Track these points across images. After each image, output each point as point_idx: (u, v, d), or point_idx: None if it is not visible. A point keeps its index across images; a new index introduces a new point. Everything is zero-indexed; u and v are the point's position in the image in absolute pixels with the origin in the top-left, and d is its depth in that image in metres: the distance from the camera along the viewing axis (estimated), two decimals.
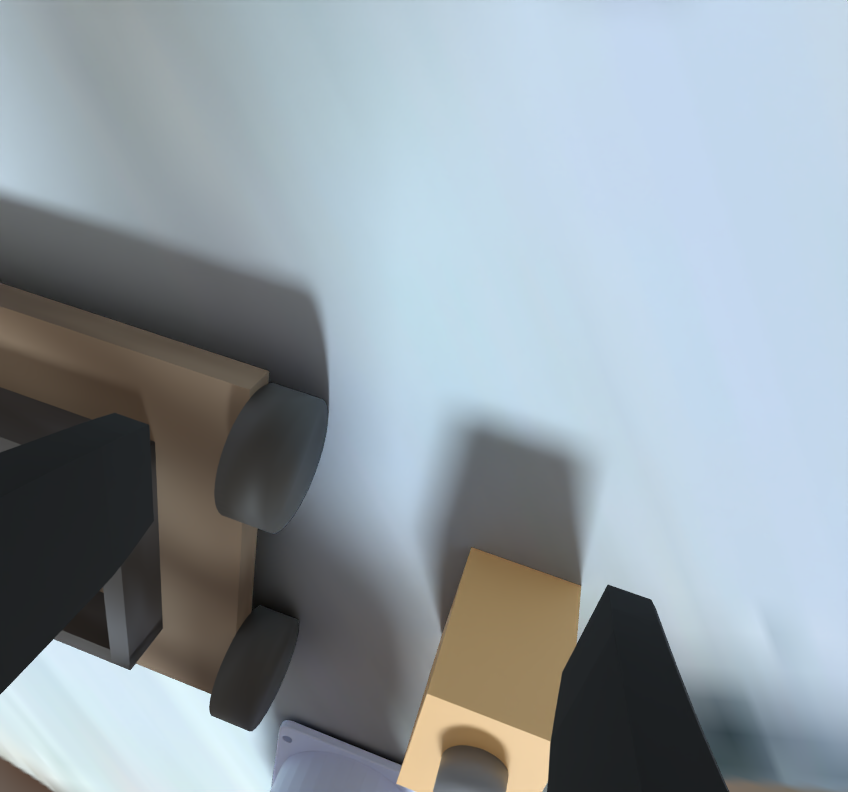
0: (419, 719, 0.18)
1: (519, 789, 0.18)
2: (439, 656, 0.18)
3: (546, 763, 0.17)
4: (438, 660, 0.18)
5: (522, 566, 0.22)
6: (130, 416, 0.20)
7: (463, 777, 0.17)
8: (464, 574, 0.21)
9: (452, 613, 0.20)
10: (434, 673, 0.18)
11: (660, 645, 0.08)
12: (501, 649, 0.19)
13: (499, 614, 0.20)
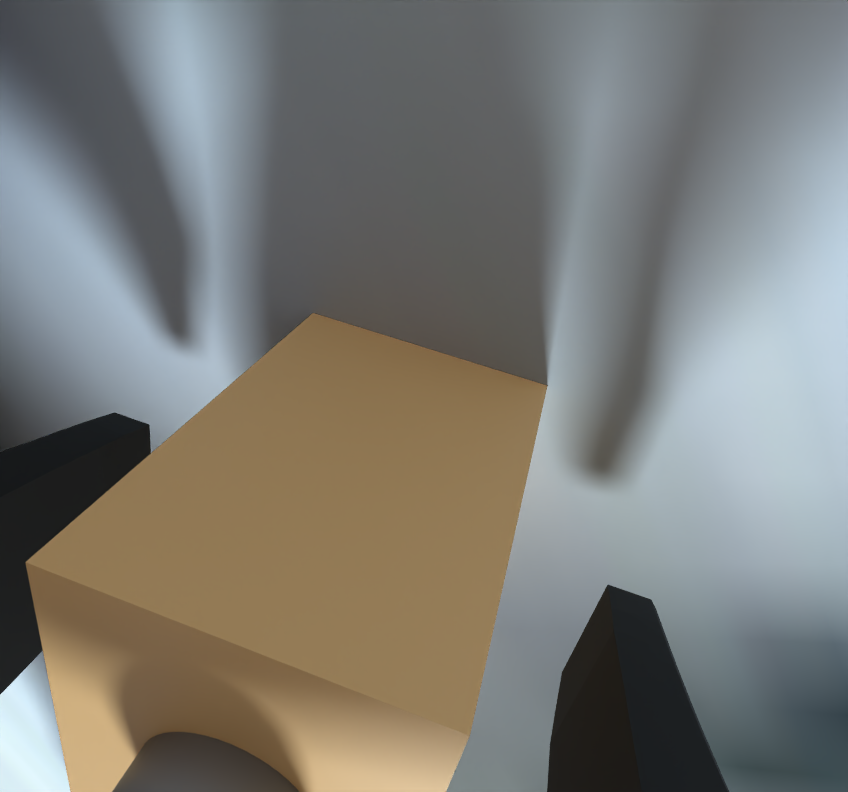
0: (46, 655, 0.06)
1: None
2: (126, 478, 0.06)
3: (411, 787, 0.05)
4: (118, 487, 0.06)
5: (420, 348, 0.10)
6: None
7: None
8: (278, 346, 0.09)
9: (214, 402, 0.08)
10: (86, 515, 0.06)
11: (660, 644, 0.08)
12: (320, 476, 0.07)
13: (338, 412, 0.08)
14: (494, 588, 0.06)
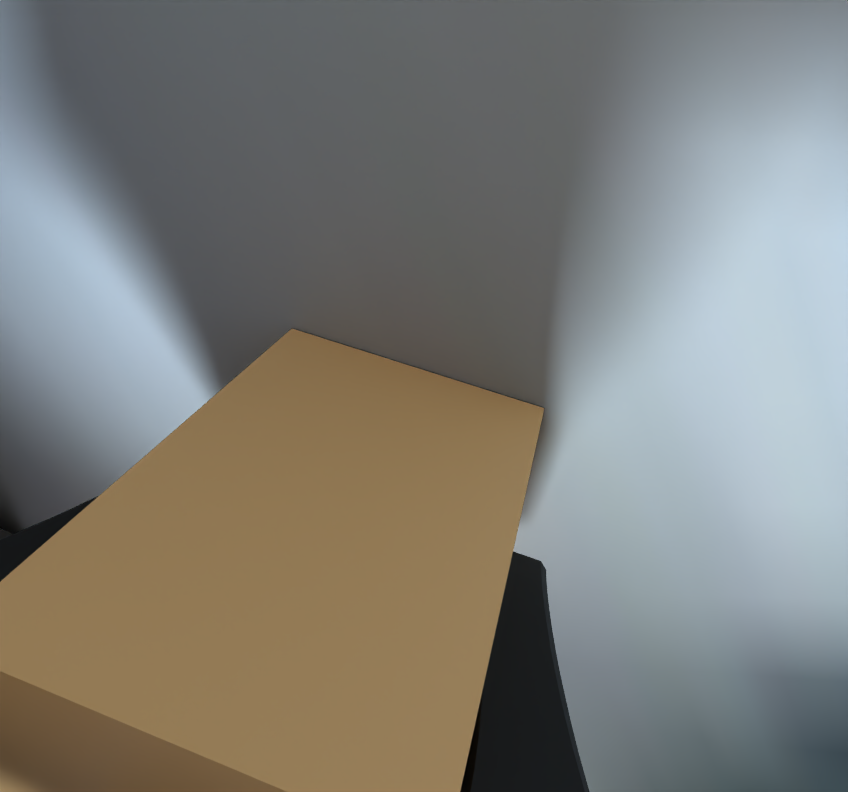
0: None
1: None
2: (63, 531, 0.06)
3: None
4: (52, 542, 0.06)
5: (406, 368, 0.09)
6: None
7: None
8: (249, 368, 0.09)
9: (173, 435, 0.07)
10: (11, 578, 0.05)
11: (536, 601, 0.08)
12: (287, 522, 0.06)
13: (311, 447, 0.07)
14: (480, 659, 0.05)
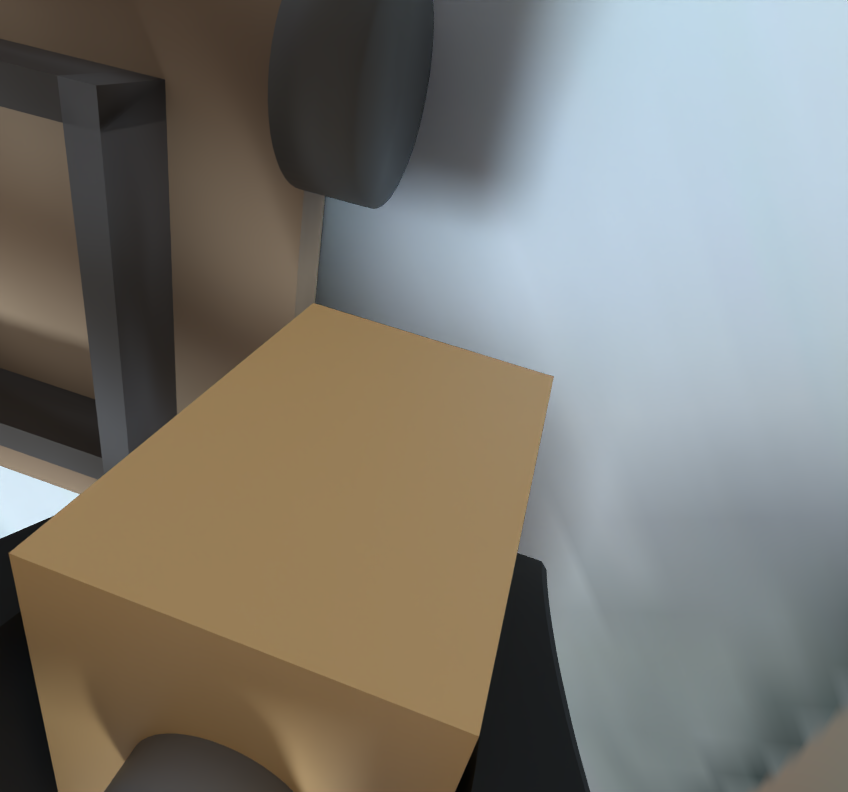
0: (32, 652, 0.06)
1: None
2: (117, 467, 0.06)
3: (416, 791, 0.05)
4: (108, 476, 0.06)
5: (422, 339, 0.10)
6: (125, 32, 0.13)
7: None
8: (276, 336, 0.09)
9: (210, 391, 0.08)
10: (74, 504, 0.06)
11: (537, 601, 0.08)
12: (321, 466, 0.07)
13: (338, 403, 0.08)
14: (503, 582, 0.06)
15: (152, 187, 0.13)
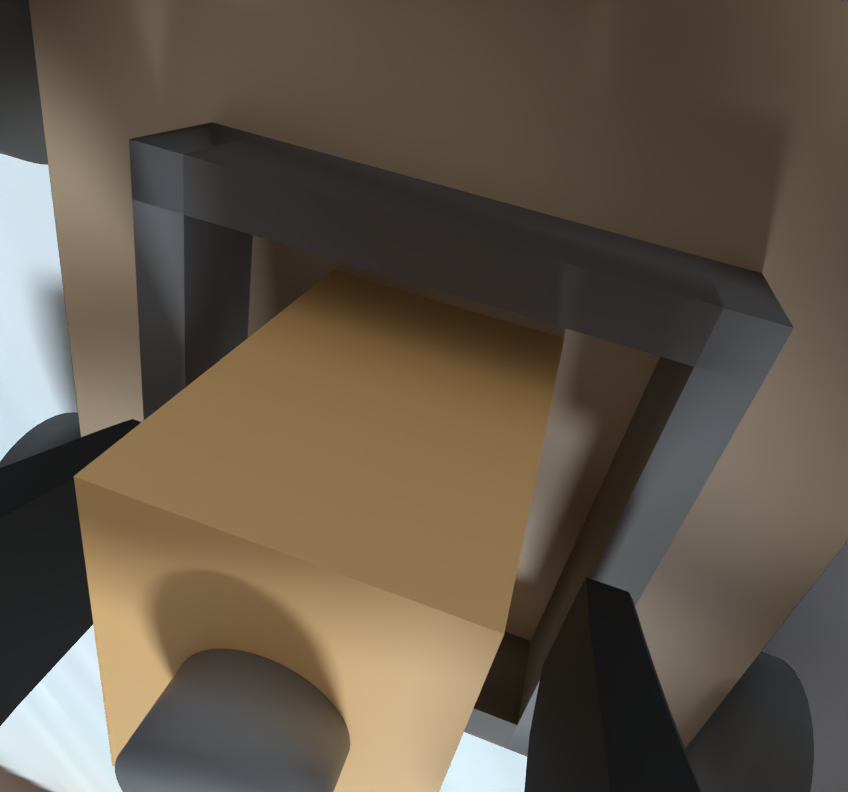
0: (89, 574, 0.06)
1: (383, 776, 0.07)
2: (163, 408, 0.07)
3: (445, 693, 0.06)
4: (156, 415, 0.07)
5: (438, 303, 0.10)
6: (722, 209, 0.09)
7: (182, 735, 0.06)
8: (301, 298, 0.10)
9: (243, 345, 0.08)
10: (128, 438, 0.06)
11: (635, 636, 0.08)
12: (349, 411, 0.07)
13: (362, 357, 0.08)
14: (521, 511, 0.06)
15: None
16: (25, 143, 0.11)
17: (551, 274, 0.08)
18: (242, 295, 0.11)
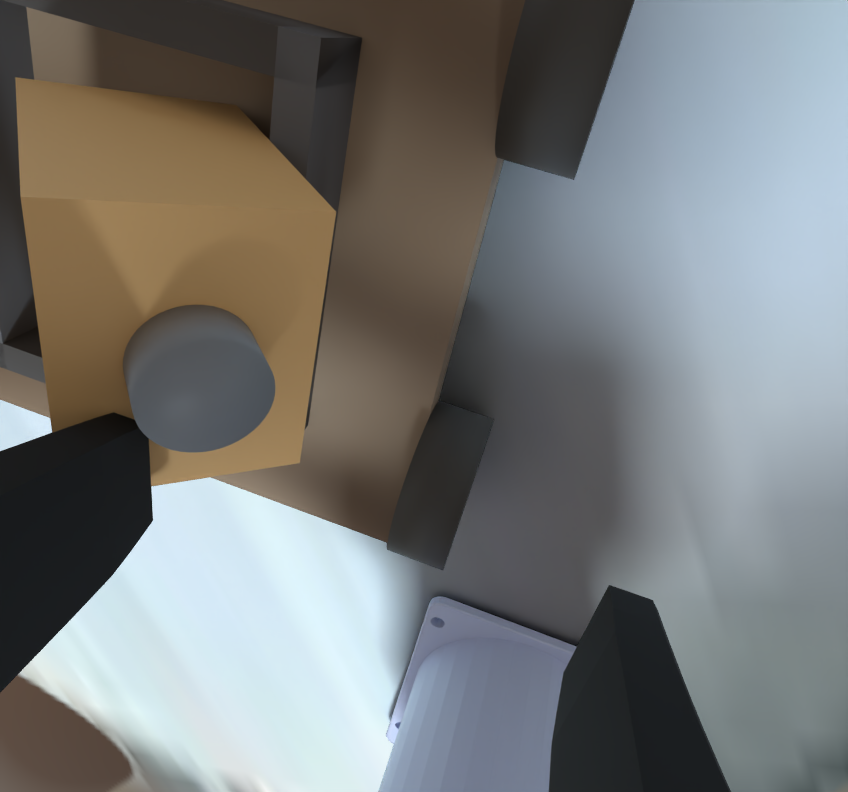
0: (37, 293, 0.08)
1: (282, 365, 0.11)
2: (22, 162, 0.08)
3: (310, 273, 0.10)
4: (23, 166, 0.08)
5: (129, 93, 0.12)
6: None
7: (180, 345, 0.09)
8: (19, 96, 0.11)
9: (20, 126, 0.09)
10: (23, 178, 0.08)
11: (662, 645, 0.08)
12: (151, 150, 0.10)
13: (119, 125, 0.11)
14: (298, 175, 0.10)
15: (336, 150, 0.13)
16: None
17: (174, 10, 0.11)
18: None
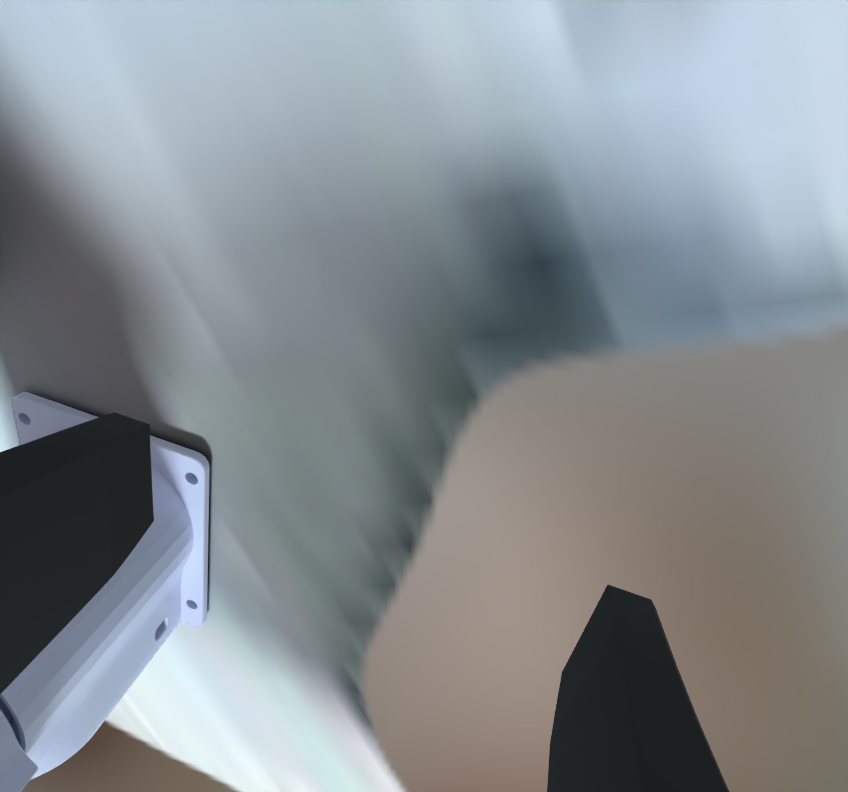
0: None
1: None
2: None
3: None
4: None
5: None
6: None
7: None
8: None
9: None
10: None
11: (661, 645, 0.08)
12: None
13: None
14: None
15: None
16: None
17: None
18: None
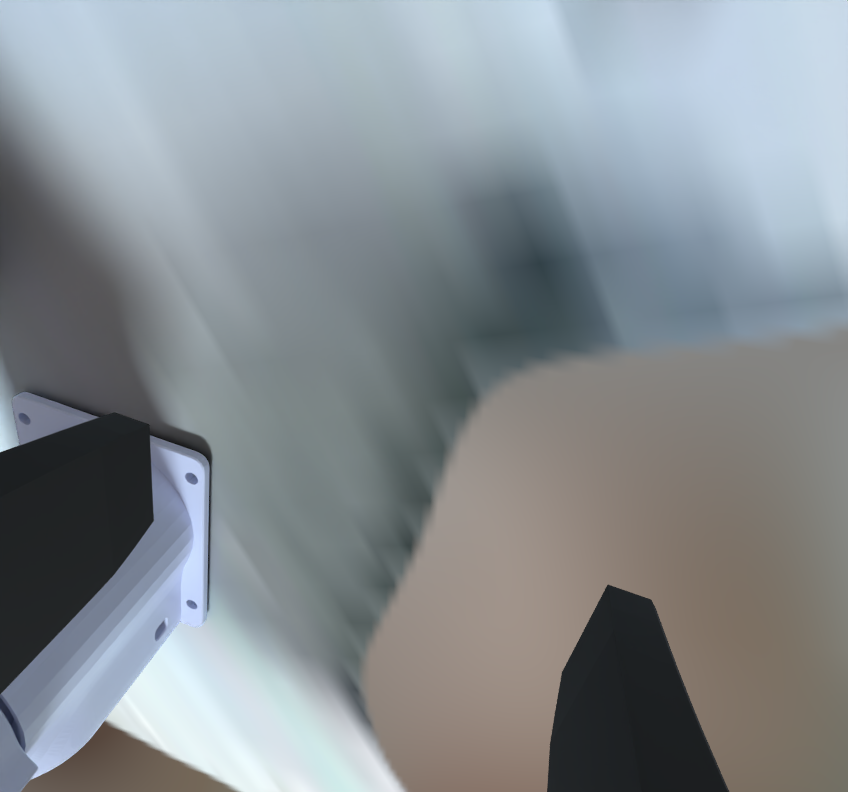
0: None
1: None
2: None
3: None
4: None
5: None
6: None
7: None
8: None
9: None
10: None
11: (661, 645, 0.08)
12: None
13: None
14: None
15: None
16: None
17: None
18: None
